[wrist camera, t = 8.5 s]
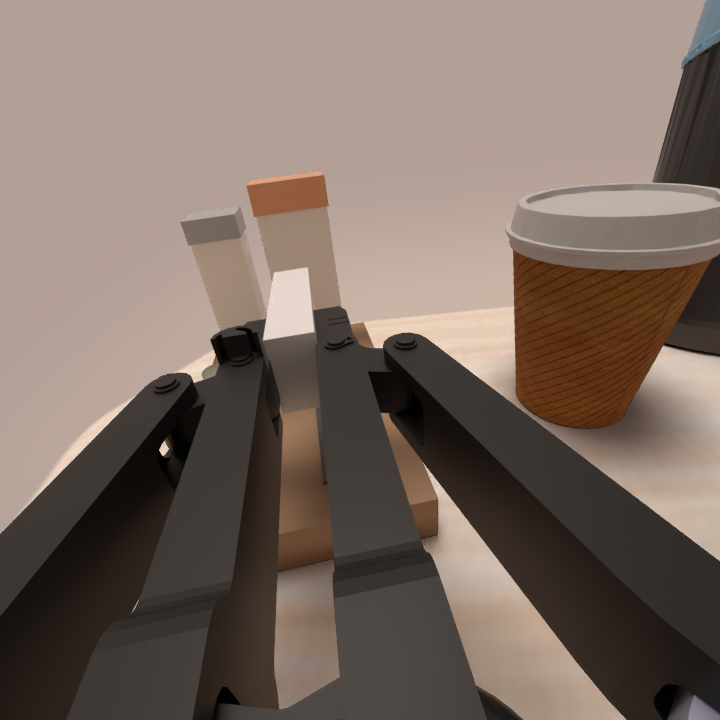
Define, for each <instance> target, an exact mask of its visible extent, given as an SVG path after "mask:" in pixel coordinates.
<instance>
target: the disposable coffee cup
mask: <svg viewBox="0 0 720 720" xmlns="http://www.w3.org/2000/svg"><path fill="white" fill-rule="evenodd" d="M506 233H507V235H508V237H509V238H510V241H509V243H510V246H511V248H512V249H513V255H514V257H513V260H514V261H513V265H514V307H515V308H514V314H515V320H514V322H515V358H516V362H515V363H516V394H517V396H518V399H519V400H520V401H521V402H522V404H523V405H524V406H525V407H526V408H527V409H528V410H530V411H531V412H533V413H534V414H536V415H537V416H540V417H542V418H544V419H546V420H548V421H551V422H554V423H557V424H561V425H565V426H570V427H579V428H597V427H604V426H607V425H610V424H613V423H615V422H617V421H618V420H620V419H621V418H622V417H623V416H624V414H625V412H626V410H627V408H628V406H629V405H630V403H631V401H632V399H633V398H634V396H635V394H636V392H637V391H638V389H639V387H640V385H641V384H642V382H643V380H644V379H645V376H646V375H647V373H648V371H649V370H650V368H651V366H652V364H653V363H654V361H655V359H656V357H657V355H658V354H659V352H660V350H661V348H662V347H663V345H664V343H665V342H666V339H667V338H668V336H669V334H670V333H671V331H672V329H673V327H674V325H675V324H676V322H677V321H678V319H679V317H680V315H681V313H682V312H683V310H684V308H685V306H686V304H687V303H688V301H689V299H690V298H691V296H692V294H693V292H694V290H695V289H696V287H697V285H698V283H699V281H700V279H701V277H702V276H703V274H704V272H705V271H706V269H707V267H708V265H709V263H710V262H711V260H712V258H714V257H716V256H718V255H719V254H720V189H718V188H713V187H706V186H698V185H689V184H673V183H611V184H596V185H584V186H583V185H582V186H572V187H564V188H557V189H551V190H546V191H542V192H537V193H533V194H530V195H528V196H525V197H523V198H521V199H520V200H519V201H518V204H517V207H516V210H515V213H514V217H513V220H512V221H510V222H509V223H508V224H507V226H506Z"/></svg>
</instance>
